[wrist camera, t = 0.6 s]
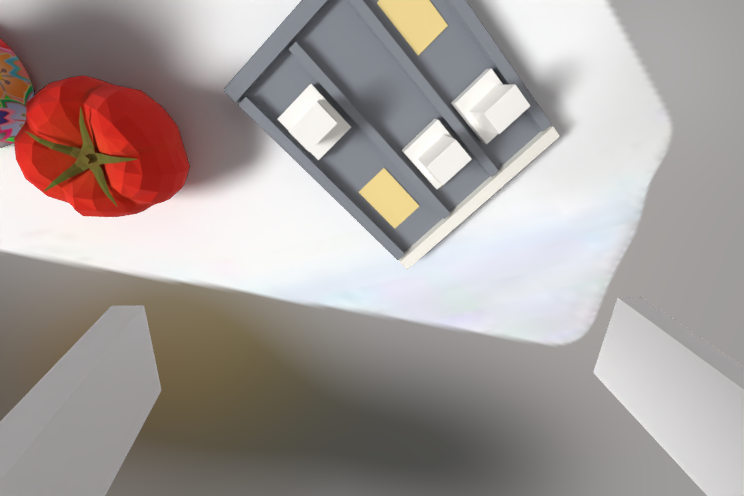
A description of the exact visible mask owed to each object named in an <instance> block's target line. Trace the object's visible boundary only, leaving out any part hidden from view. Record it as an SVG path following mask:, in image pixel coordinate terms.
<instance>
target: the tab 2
mask: <svg viewBox="0 0 744 496" xmlns="http://www.w3.org/2000/svg"><path fill="white" fill-rule="evenodd" d="M402 151H403V153H404V154H405V155H406V156H407V157H408V158H409V159H410V160H411V162H412V163H413V164H414V165H415V166H416V167H417V168H418V169H419V170H420V172H421V173H422V174H423V175H424V176H425V177H426V178H427V179H428V181H429V182H430V183H431V184H432V185H433V186H434V187H435V188H436V189H438V188H439V187H440V186H441V185H444V184H445V183H446V182H447V181H448V180H449V179H451V178H452V177H453V176H454V175H455V174H456V173H457V172H458V171H459V170H460V169H462V168H463V167H464V166H465V165H466V164H467V163H468V162H469V161H470V160H472V159H471V158H470V156H469V155H468V154H467V153H466V151H465V150H464V149H463V148H462V147H461V145H460V144H459V143H458V142H457V140H455V139H454V138H453V137H452V136H451V135H450V133H449V132H448V131H447V130H446V129H445V127H444V126H443V125H442V124H441V122H440V121H439V120H438V119H434V120H433V121H432V122H431V123H429V124H428V125H427V126H426V127H425V128H424V129H423V130H422V131H421V132H420V133H419V134H418V135H417V136H416V137H415V138H414V139H413V140H412V141H411V142H410V143H409V144H408V145H406V146H405V147H404V148H403V149H402Z"/></svg>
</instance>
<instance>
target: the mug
mask: <svg viewBox="0 0 744 496" xmlns="http://www.w3.org/2000/svg"><path fill="white" fill-rule="evenodd" d="M33 96H34V90H33V86H32V83H31V80H30V78H29V75H28V73H27V71H26V69H25V68H24V66H23V64H22V63H21V61H20V60H19V58H18V57H17V56H16V54H15V53H14V52H13V51H12V50H11V49H10V47H9V46H8V45H7V44H6V43H5V42H3V41H2V40H1V39H0V148H2V147H5V146H8V145H10V144H12V143H14V138H15V136H16V135H17V134H18V132H19V131H20V129H21V128H22V126H23V125H24V123H25V121H26V103H27V102H28V101H29V100H30V99H31V98H32V97H33Z"/></svg>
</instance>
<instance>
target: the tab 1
mask: <svg viewBox="0 0 744 496" xmlns="http://www.w3.org/2000/svg"><path fill="white" fill-rule="evenodd" d="M278 120H279V121H280V122H281V123H282V124H283V125H284V126H285V127H286V128H287V129H288V130H289V131H288V132H289V133H290V134H291V135H292V136H293V137H294V138H295V139H296V140H297V141H298V142H299V143H300V144H301V145H302V146H303V147H304V148H305V149H306V150H307V151H308V152H311V153H312V154H313V155H314V156H315V157H316V158H317V159H318V160H319V159H320V158H321V157H322V156H323V155H324V154H325V153H326V152H327V151H328V150H329V149H330V148H331V147H332V146H333V145H334V144H335V143H336V142H337V141H338V140H339V139H340V138H341V137H342V136H343V135H344V134H345V133H346V132H347V131H348V130H349V129H350V128H351V126H350V125H349V124H348V123H347V122H346V121H345V120H344V118H343V117H342V116H341V115H340V114H339V113H338V112H337V111H336V110H335V109H334V108H333V107H332V105H331V104H330V103H329V102H328V101H327V100H326V99H325V98H324V97H323V96H322V95H321V94H320V93H319V91H318V90H317V89H316V88H315V87H314V86H313V85H312V84H310V85H309V86H308V87H307V88H306V89H305V90H304V91H303V92H302V93H301V95H300V96H299V97H298V98H297V99H296V100H295V101H294V102H293V103H292V104H291V105H290V106H289V107H288V108H287V109H286V110H285V112H284V113H283V114H282V115H281V116H280V117H279V118H278Z"/></svg>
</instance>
